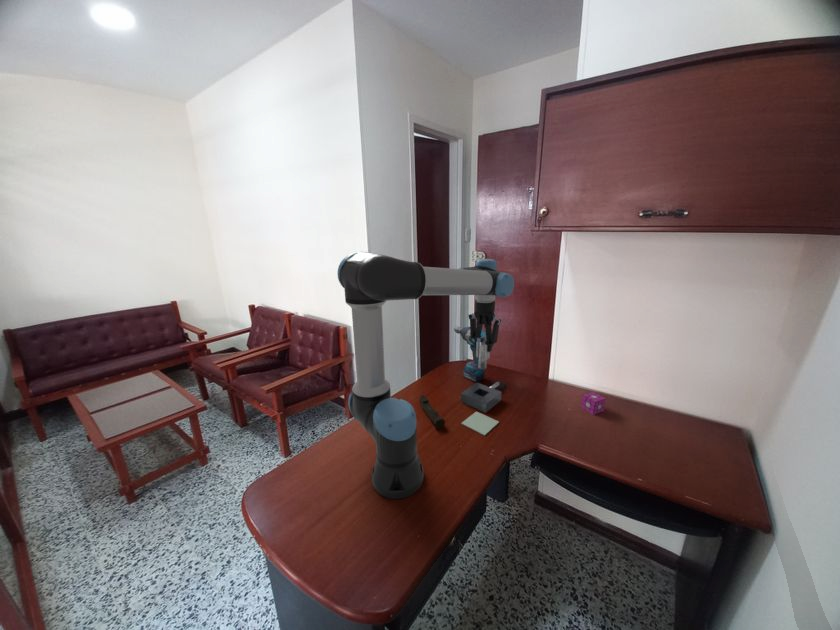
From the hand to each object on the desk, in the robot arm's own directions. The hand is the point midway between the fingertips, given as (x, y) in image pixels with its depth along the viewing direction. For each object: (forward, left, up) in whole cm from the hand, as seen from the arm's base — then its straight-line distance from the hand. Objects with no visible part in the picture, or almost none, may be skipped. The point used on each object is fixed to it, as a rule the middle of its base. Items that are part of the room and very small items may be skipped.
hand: (482, 357), depth 124 cm
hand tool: (-22, +10, -20) cm, 32 cm away
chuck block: (+4, 0, -20) cm, 20 cm away
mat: (-13, -8, -20) cm, 25 cm away
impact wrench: (+15, +15, -20) cm, 29 cm away
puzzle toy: (+24, -36, -20) cm, 48 cm away
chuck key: (0, 0, -5) cm, 5 cm away
